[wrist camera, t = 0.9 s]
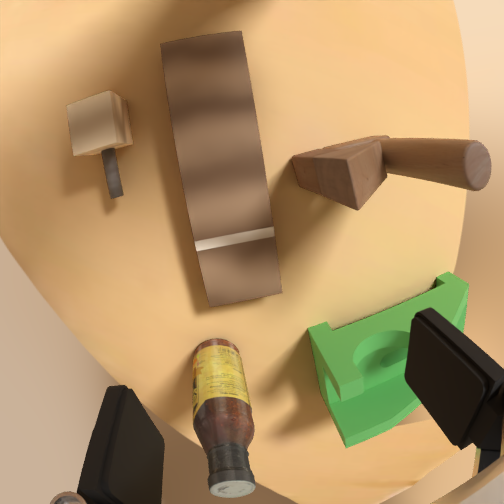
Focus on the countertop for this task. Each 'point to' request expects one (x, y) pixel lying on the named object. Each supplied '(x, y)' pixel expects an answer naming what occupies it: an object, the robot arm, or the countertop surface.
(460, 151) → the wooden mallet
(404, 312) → the green cradle stand
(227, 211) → the walnut board
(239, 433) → the sauce bottle
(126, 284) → the countertop surface
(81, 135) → the block
